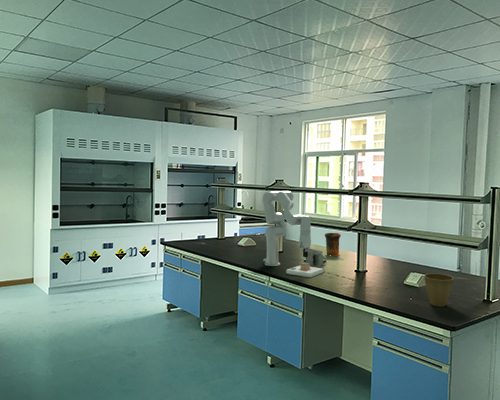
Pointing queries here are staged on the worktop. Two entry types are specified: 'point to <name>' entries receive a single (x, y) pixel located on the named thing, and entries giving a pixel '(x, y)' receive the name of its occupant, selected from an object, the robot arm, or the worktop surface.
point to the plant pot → (438, 288)
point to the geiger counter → (315, 258)
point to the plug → (305, 266)
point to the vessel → (332, 243)
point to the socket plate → (309, 273)
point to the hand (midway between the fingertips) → (305, 256)
